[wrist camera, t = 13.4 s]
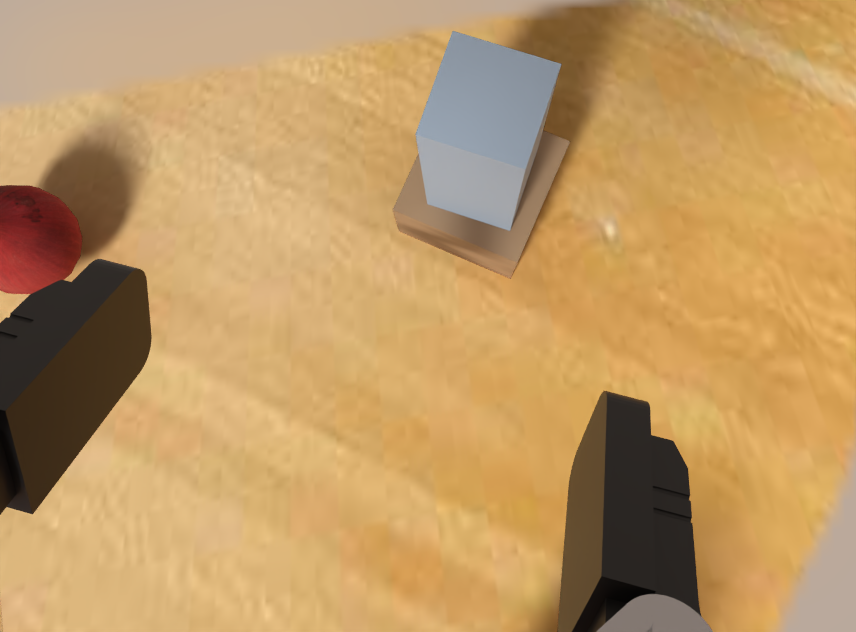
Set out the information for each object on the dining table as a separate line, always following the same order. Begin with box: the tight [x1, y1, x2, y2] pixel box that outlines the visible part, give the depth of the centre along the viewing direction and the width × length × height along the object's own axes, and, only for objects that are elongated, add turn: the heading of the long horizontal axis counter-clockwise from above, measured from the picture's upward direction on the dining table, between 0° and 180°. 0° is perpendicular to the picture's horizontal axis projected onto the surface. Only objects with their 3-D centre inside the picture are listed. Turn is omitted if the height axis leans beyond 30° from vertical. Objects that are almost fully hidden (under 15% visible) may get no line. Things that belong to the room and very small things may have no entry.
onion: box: [0, 185, 82, 294], centre depth 41 cm, size 6×6×8 cm
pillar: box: [416, 31, 561, 231], centre depth 35 cm, size 4×4×10 cm
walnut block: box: [393, 130, 570, 279], centre depth 43 cm, size 7×7×5 cm
